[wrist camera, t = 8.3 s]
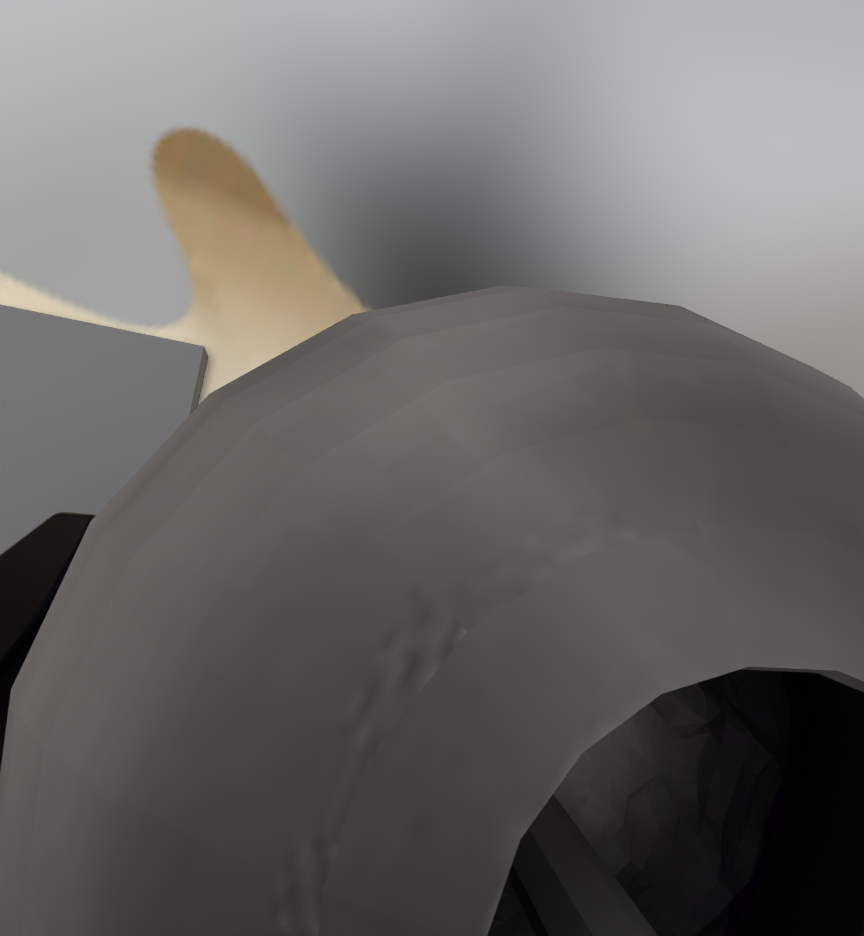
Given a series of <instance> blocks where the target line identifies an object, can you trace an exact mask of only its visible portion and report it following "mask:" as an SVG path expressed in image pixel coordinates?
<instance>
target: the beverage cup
mask: <svg viewBox="0 0 864 936" xmlns="http://www.w3.org/2000/svg"><path fill="white" fill-rule="evenodd" d="M0 936H864V399H863V398H862V397H861V396H860V395H859V394H858V393H857V392H855V391H854V390H853V389H852V388H851V387H849V386H847V385H845V384H844V383H842V382H840V381H838V380H836V379H834V378H832V377H830V376H828V375H827V374H825V373H823V372H821V371H819V370H817V369H815V368H813V367H811V366H809V365H807V364H804V363H802V362H800V361H798V360H796V359H794V358H791V357H789V356H787V355H785V354H783V353H781V352H778V351H776V350H774V349H772V348H770V347H768V346H765V345H763V344H761V343H759V342H757V341H754V340H752V339H750V338H748V337H746V336H744V335H742V334H739V333H737V332H735V331H733V330H731V329H729V328H726V327H724V326H722V325H720V324H718V323H715V322H713V321H711V320H709V319H707V318H705V317H702V316H700V315H698V314H696V313H694V312H692V311H689V310H687V309H685V308H683V307H681V306H677V305H668V304H660V303H652V302H644V301H635V300H628V299H619V298H611V297H603V296H596V295H587V294H579V293H571V292H563V291H555V290H547V289H539V288H530V287H518V286H503V285H502V286H497V287H492V288H486V289H482V290H476V291H471V292H466V293H461V294H456V295H451V296H445V297H440V298H435V299H430V300H425V301H420V302H414V303H409V304H404V305H399V306H394V307H389V308H384V309H379V310H373V311H368V312H363V313H358V314H353V315H351V316H349V317H347V318H345V319H343V320H342V321H340V322H338V323H336V324H334V325H333V326H331V327H329V328H327V329H325V330H324V331H322V332H320V333H318V334H316V335H315V336H313V337H311V338H309V339H307V340H306V341H304V342H302V343H300V344H298V345H297V346H295V347H293V348H291V349H289V350H288V351H286V352H284V353H282V354H280V355H279V356H277V357H275V358H273V359H271V360H270V361H268V362H266V363H264V364H262V365H261V366H259V367H257V368H255V369H253V370H252V371H250V372H248V373H246V374H245V375H243V376H241V377H239V378H237V379H236V380H234V381H232V382H230V383H228V384H227V385H225V386H223V387H221V388H219V389H218V390H216V391H214V392H212V393H210V394H209V395H208V396H207V397H206V398H205V399H204V401H203V402H202V403H201V404H200V405H199V406H198V407H197V408H196V409H195V410H194V411H193V412H192V413H191V414H190V416H189V417H188V418H187V419H186V420H185V421H184V422H183V423H182V424H181V425H180V426H179V427H178V428H177V429H176V431H175V432H174V433H173V434H172V435H171V436H170V437H169V438H168V439H167V440H166V441H165V442H164V443H163V444H162V446H161V447H160V448H159V449H158V450H157V451H156V452H155V453H154V454H153V455H152V456H151V457H150V458H149V459H148V461H147V462H146V463H145V464H144V465H143V466H142V467H141V468H140V469H139V470H138V471H137V472H136V473H135V474H134V475H133V477H132V478H131V479H130V480H129V481H128V482H127V483H126V484H125V485H124V486H123V487H122V488H121V489H120V490H119V492H118V493H117V494H116V495H115V496H114V497H113V498H112V499H111V500H110V501H109V502H108V503H107V504H106V505H105V507H104V508H103V509H102V510H101V511H100V512H99V513H98V514H97V515H96V516H95V517H94V518H93V519H92V520H91V522H90V524H89V526H88V528H87V530H86V532H85V534H84V536H83V538H82V541H81V543H80V545H79V547H78V549H77V551H76V553H75V555H74V557H73V560H72V562H71V564H70V566H69V568H68V570H67V572H66V574H65V576H64V579H63V581H62V583H61V585H60V587H59V589H58V591H57V593H56V596H55V598H54V600H53V602H52V604H51V606H50V608H49V610H48V612H47V615H46V617H45V619H44V621H43V623H42V625H41V627H40V629H39V631H38V634H37V636H36V638H35V640H34V642H33V644H32V646H31V648H30V651H29V653H28V655H27V657H26V659H25V661H24V663H23V665H22V667H21V670H20V672H19V674H18V676H17V678H16V680H15V682H14V684H13V686H12V689H11V693H10V701H9V709H8V717H7V724H6V732H5V740H4V748H3V755H2V763H1V771H0Z"/></svg>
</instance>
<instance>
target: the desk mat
mask: <svg viewBox="0 0 864 936" xmlns="http://www.w3.org/2000/svg"><path fill="white" fill-rule="evenodd" d="M207 359H208V355H207V353H206V350H205V348H204V347H203V346H198V345H193V344H189V343H184V342H179V341H174V340H169V339H164V338H159V337H155V336H150V335H145V334H140V333H135V332H130V331H125V330H121V329H116V328H111V327H106V326H101V325H96V324H92V323H87V322H82V321H77V320H72V319H67V318H62V317H58V316H53V315H48V314H43V313H38V312H33V311H29V310H24V309H19V308H14V307H9V306H4V305H0V554H2V553H3V552H4V551H5V550H7V549H8V548H9V547H11V546H12V545H13V544H15V543H16V542H17V541H19V540H20V539H21V538H23V537H24V536H25V535H27V534H28V533H29V532H31V531H32V530H33V529H35V528H36V527H37V526H38V525H40V524H41V523H42V522H44V521H45V520H46V519H48V518H49V517H50V516H52V515H53V514H56V513H58V512H76V513H88V514H96V515H97V514H98V513H99V512H100V511H101V510H102V509H103V508H104V507H105V505H106V504H107V503H108V502H109V501H110V500H111V499H112V498H113V497H114V496H115V495H116V494H117V493H118V492H119V490H120V489H121V488H122V487H123V486H124V485H125V484H126V483H127V482H128V481H129V480H130V479H131V478H132V477H133V475H134V474H135V473H136V472H137V471H138V470H139V469H140V468H141V467H142V466H143V465H144V464H145V463H146V462H147V461H148V459H149V458H150V457H151V456H152V455H153V454H154V453H155V452H156V451H157V450H158V449H159V448H160V447H161V446H162V444H163V443H164V442H165V441H166V440H167V439H168V438H169V437H170V436H171V435H172V434H173V433H174V432H175V431H176V429H177V428H178V427H179V426H180V425H181V424H182V423H183V422H184V421H185V420H186V419H187V418H188V417H189V416H190V414H191V413H192V412H193V411H194V410H195V409H196V408H197V405H198V401H199V396H200V391H201V387H202V382H203V378H204V373H205V368H206V364H207Z"/></svg>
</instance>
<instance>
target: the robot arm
mask: <svg viewBox="0 0 864 936" xmlns="http://www.w3.org/2000/svg"><path fill="white" fill-rule="evenodd" d="M95 516H96V514H88V513H76V512H58V513H56V514H53V515H52V516H50V517H49V518H48V519H46V520H45V521H44V522H42V523H41V524H40V525H38V526H37V527H36V528H35V529H33V530H32V531H31V532H29V533H28V534H27V535H25V536H24V537H23V538H21V539H20V540H19V541H17V542H16V543H15V544H13V545H12V546H11V547H9V548H8V549H7V550H5V551H4V552H3V553H2V554H0V771H1V763H2V755H3V748H4V740H5V732H6V724H7V717H8V709H9V701H10V693H11V689H12V686H13V684H14V682H15V680H16V678H17V676H18V674H19V672H20V670H21V667H22V665H23V663H24V661H25V659H26V657H27V655H28V653H29V651H30V648H31V646H32V644H33V642H34V640H35V638H36V636H37V634H38V631H39V629H40V627H41V625H42V623H43V621H44V619H45V617H46V615H47V612H48V610H49V608H50V606H51V604H52V602H53V600H54V598H55V596H56V593H57V591H58V589H59V587H60V585H61V583H62V581H63V579H64V576H65V574H66V572H67V570H68V568H69V566H70V564H71V562H72V560H73V557H74V555H75V553H76V551H77V549H78V547H79V545H80V543H81V541H82V538H83V536H84V534H85V532H86V530H87V528H88V526H89V524H90V522H91V520H92V519H93V518H94V517H95Z"/></svg>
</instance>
